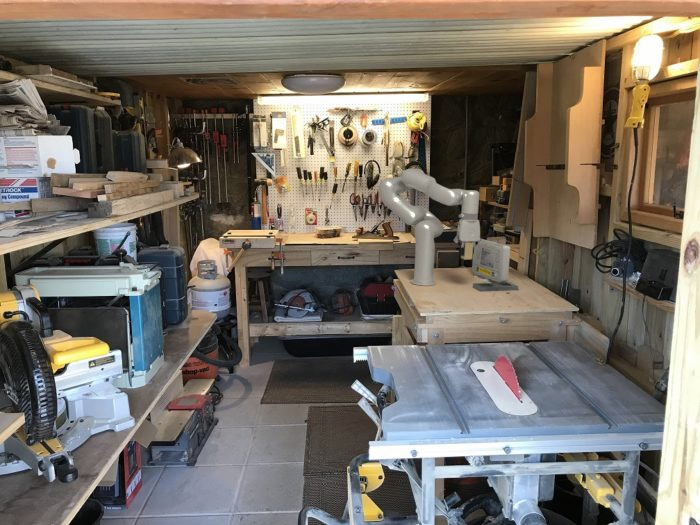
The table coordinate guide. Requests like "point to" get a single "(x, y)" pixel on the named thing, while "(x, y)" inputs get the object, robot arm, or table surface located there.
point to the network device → (491, 261)
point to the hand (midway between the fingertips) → (466, 255)
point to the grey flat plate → (495, 286)
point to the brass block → (468, 250)
